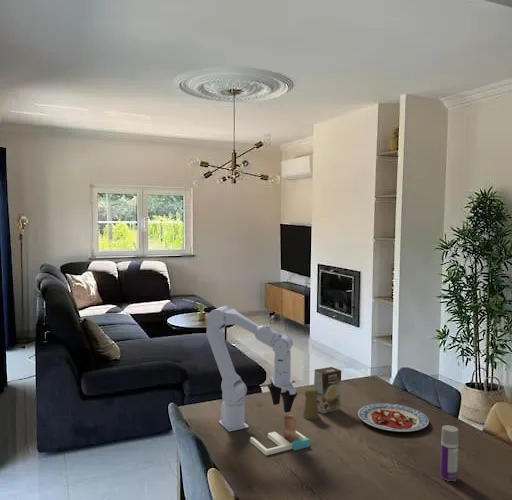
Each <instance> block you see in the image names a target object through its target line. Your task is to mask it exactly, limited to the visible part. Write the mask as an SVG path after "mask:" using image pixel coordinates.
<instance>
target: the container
mask: <svg viewBox="0 0 512 500" xmlns="http://www.w3.org/2000/svg"><path fill="white" fill-rule="evenodd" d="M440 439H441V442H440V444H441V445H440V465H439V466H440V467H439V472H440V473H439V477H440V476H441V477H440V479H441V478H443V479H445V480H449V481H453V480H456V479H457V480H458V464H459V462H458V460H459V459H458V457H459V428H458V427H456V426H453V425H449V424H448V425H447V424H445V425H443V426H441V437H440ZM443 479H442V480H443ZM445 480H444V481H445Z"/></svg>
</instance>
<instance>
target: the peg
mask: <svg viewBox="0 0 512 500" xmlns="http://www.w3.org/2000/svg"><path fill="white" fill-rule="evenodd" d="M283 430H284V431H283V438H284V439H286V440H287V441H288V442H290V443H292V441H296V440H297V437H296V431H297V416H296V415H294V414H285V416H284V423H283Z"/></svg>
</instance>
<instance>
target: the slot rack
mask: <svg viewBox="0 0 512 500" xmlns="http://www.w3.org/2000/svg"><path fill="white" fill-rule="evenodd" d="M267 438H268V439H269V440H270V441H271V442H273V443H274V444H276V446H275V447H270V448H267V447H266V446H265V445H263V444H262V443H261V442H260V441H258V440H257V439H256V438H255V437H253V436H251V437H249V443H251V444H252V445H253V446H254V447H255V448H257V449H258V450H259V451H260V452H261V453H263V455H265V456H269V455H274V454H278V453H281V452H284V451H288V450H293V451H298V450H302V449H305V448H310V445H311V444H310V438H309V437H306V436H305V435H303V434H302V433H300V432H299V431H297V430H296V441H292V442H288V441H287V440H286V439H284V436H282V435H281V434H279V433H278V432H276V431H272V432H268V433H267Z"/></svg>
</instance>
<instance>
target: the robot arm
mask: <svg viewBox="0 0 512 500" xmlns="http://www.w3.org/2000/svg"><path fill="white" fill-rule="evenodd" d="M206 322H207V325H206V333H205V334H206V337H207V340H208V343H209V345H210V348H211V351H212V354H213V356H214V359H215V362H216V364H217V368H218V371H219V373H220V376H221V378H222V380H221V385H220V389H221V392H222V394H221V397H222V403H221V404H220V405H221V406H220V420H219V421H218V423H219V424H220V425H221V426H222V427H223V428H225V429H226V431H228V432H233V431H239V430H243V429H247V428H248V429H249V425H248V424H247V423H245V398H244V397H245V396H246V394H247V392H248V387H247V385H246V383H245V382H244V381H243V380H242V377H241V375H239V374H238V373H237V372H236V370H235V367H234V364H233V361H232V358H231V355H230V353H229V350H228V346H227V344H226V341H225V338H224V335H223V332H224V330H225V328H226V326H230V325H231V326H233V325H236V326H238V327H241V328H242V329H244V330H246V331H248V332H250V333H252V334H253V335H254V336H255V339H256V340H257V341H259V342H261V343H263V344H264V345H266V346H268V347H269V348H271V349H272V350H273V352H274V368H273V370H274V371H273V373H274V374H273V376H269V384H267V388H268V390H269V392H270V396H271V400H272V404H273V405H274V406H276V405H280V402H281V399H282V401H283V403H282V404H283V412H284V413H289V412H291V410H292V408H293V403H294V401H295V399H296V398H297V395H298V392H297V391H296V390H297V389H296V387H294V385H293V383H294V382H293V380H291V371H292V370H291V368H292V367H291V364H292V363H291V360H292V359H291V351H292V350H291V349H292V347H293V344H294V343H293V339H292V338H291V336H289V335H288V334H285V333H284V334H282V332H277V331H276V330H274V329H272V328H271V326H270V325H269V324H263V325H259V324H257V323H256V322H254V321H253V320H251V319H250V318H248V317H247V316H244V315H243V314H242V313H240V312H238V310H236V309H235V308H233V307H230V306H229V305H222V306H220V307H218V308H215V309H212V310H211V311H209V313H208V315H207V317H206ZM282 390H284V392H282ZM281 397H282V398H281Z"/></svg>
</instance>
